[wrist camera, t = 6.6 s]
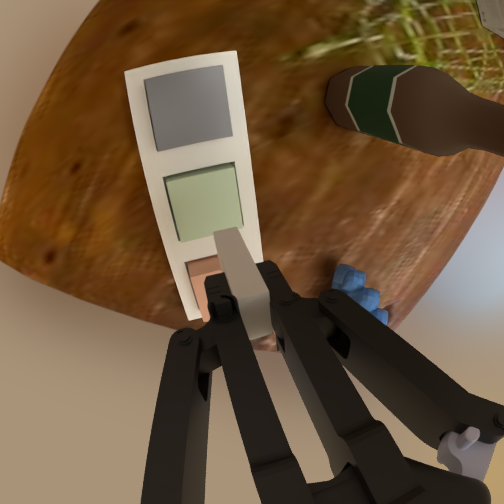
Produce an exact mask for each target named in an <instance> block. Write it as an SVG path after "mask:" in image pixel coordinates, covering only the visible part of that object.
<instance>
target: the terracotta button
mask: <svg viewBox="0 0 504 504" xmlns="http://www.w3.org/2000/svg"><path fill="white" fill-rule="evenodd" d="M188 268H189V274H190V279H191V283H192V286H193V289H194V293H195V296H196V299H197V302H198V306H199V309H200V312H201V315H202V318H203V321H204V322H207V321H209V320H210V315H209V311H208V308H207V304H208V301H207V296H206V291H205V287H204V281H205V278H206V276H209V275H213V274H218V273H222V272H221V268H220V264H219V259H218V255H217V254H215V255H211V256H207V257H203V258H199V259H195V260H191V261H188Z"/></svg>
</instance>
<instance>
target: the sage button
mask: <svg viewBox="0 0 504 504" xmlns="http://www.w3.org/2000/svg"><path fill="white" fill-rule="evenodd" d="M166 183H167V187H168V192H169V196H170V200H171V204H172V208H173V212H174V216H175V220H176V224H177V228H178V232H179V236H180V239H181V243H183V242H187V241H191V240H195V239H200V238H204V237H208V236H212V235H213V232H214V231H219V230H223V229H227V228H232V227H236V226H237V228H238V229H242V228H243V223H242V216H241V210H240V203H239V196H238V189H237V183H236V176H235V169H234V167H233V166H232V165H231V164H230V163H229V162H228V163H223V164H218V165H213V166H208V167H204V168H199V169H195V170H190V171H186V172H181V173H177V174H173V175H169V176H167V177H166Z"/></svg>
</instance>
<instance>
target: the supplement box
mask: <svg viewBox="0 0 504 504" xmlns="http://www.w3.org/2000/svg"><path fill="white" fill-rule="evenodd" d="M476 1H477V4H478V9H479V13H480V17H481V22H482V26H483V27H485V28H487V29H489V30H490V31H492V32H494V33H496V34H497V35H499V36H501V37H502V38H504V0H476Z"/></svg>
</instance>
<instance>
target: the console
mask: <svg viewBox="0 0 504 504" xmlns="http://www.w3.org/2000/svg"><path fill="white" fill-rule="evenodd" d="M218 65H223V69H224V76H225V83H226V90H227V97H228V104H229V111H230V118H231V125H232V133H233V136H232V137H226V138H220V139H215V140H210V141H205V142H200V143H195V144H190V145H186V146H181V147H177V148H173V149H168V150H164V151H160V152H158V148H157V143H156V138H155V133H154V128H153V123H152V118H151V112H150V107H149V101H148V95H147V89H146V83H145V79H149V78H153V77H157V76H162V75H166V74H171V73H176V72H181V71H187V70H192V69H198V68H204V67H211V66H218ZM124 73H125V80H126V86H127V92H128V98H129V103H130V109H131V114H132V119H133V124H134V129H135V134H136V139H137V143H138V148H139V152H140V157H141V161H142V165H143V170H144V174H145V178H146V182H147V186H148V190H149V194H150V198H151V201H152V205H153V209H154V213H155V216H156V220H157V223H158V227H159V230H160V234H161V237H162V241H163V244H164V247H165V251H166V254H167V257H168V260H169V263H170V267H171V270H172V273H173V276H174V279H175V282H176V285H177V288H178V291H179V294H180V297H181V300H182V303H183V306H184V308H185V311H186V314H187V317H188V320H193V319H197V318H201V317H202V315H201V312H200V309H199V306H198V302H197V299H196V296H195V293H194V289H193V286H192V283H191V279H190V274H189V268H188V261H191V260H195V259H199V258H203V257H207V256H211V255H215V254H217V250H216V245H215V240H214V235H212V236H208V237H204V238H200V239H195V240H191V241H187V242H183V243H181V239H180V236H179V232H178V228H177V224H176V220H175V216H174V212H173V208H172V204H171V200H170V196H169V192H168V187H167V183H166V177H167V176H169V175H173V174H177V173H181V172H186V171H190V170H195V169H199V168H204V167H208V166H213V165H218V164H223V163H228V162H229V163H230V164H231V165H232V166H233V167H234V169H235V176H236V183H237V189H238V196H239V203H240V210H241V216H242V223H243V228H242V229H238V230H239V232H240V234H241V236H242V238H243V240H244V242H245V244H246V246H247V248H248V250H249V252H250V254H251V256H252V258H253V260H254V262H255V264H256V263H260V262H263V255H262V247H261V238H260V230H259V222H258V213H257V205H256V197H255V189H254V181H253V173H252V165H251V157H250V149H249V141H248V134H247V126H246V118H245V110H244V103H243V95H242V88H241V80H240V73H239V66H238V58H237V51H227V52H219V53H211V54H204V55H197V56H191V57H185V58H180V59H174V60H169V61H165V62H160V63H156V64H151V65H147V66H143V67H139V68H135V69H132V70H128V71H125V72H124Z"/></svg>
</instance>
